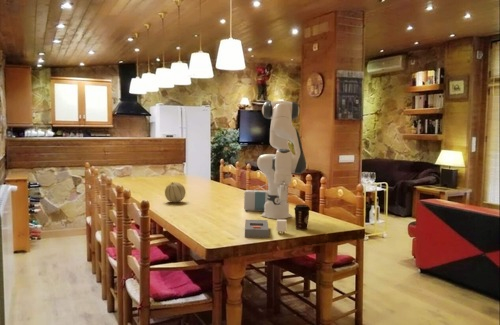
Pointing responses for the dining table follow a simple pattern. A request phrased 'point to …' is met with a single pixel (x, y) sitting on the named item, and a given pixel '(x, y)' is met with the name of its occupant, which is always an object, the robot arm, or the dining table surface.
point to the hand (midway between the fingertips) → (282, 206)
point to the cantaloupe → (175, 192)
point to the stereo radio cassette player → (255, 199)
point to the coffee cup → (301, 216)
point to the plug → (281, 225)
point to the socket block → (256, 228)
